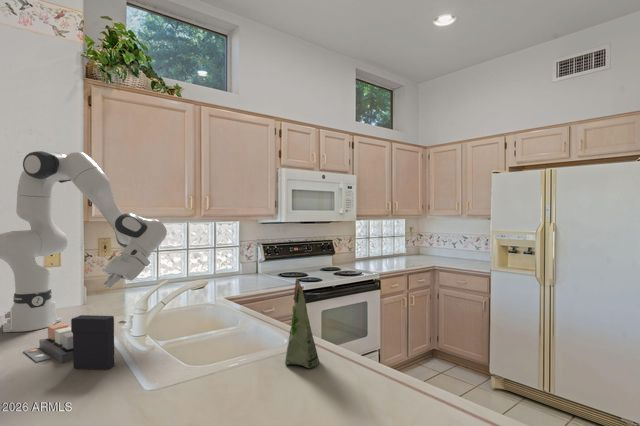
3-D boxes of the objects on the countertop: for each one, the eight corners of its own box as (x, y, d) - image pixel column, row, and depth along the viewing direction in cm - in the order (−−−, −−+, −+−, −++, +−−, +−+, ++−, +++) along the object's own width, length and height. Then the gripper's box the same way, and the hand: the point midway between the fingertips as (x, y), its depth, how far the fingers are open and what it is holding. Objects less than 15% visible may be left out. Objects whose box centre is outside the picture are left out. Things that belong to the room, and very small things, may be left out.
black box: (116, 364, 110) (115, 315, 110) (106, 371, 105) (106, 319, 105) (82, 363, 111) (81, 314, 111) (71, 369, 106) (70, 318, 106)
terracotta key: (47, 337, 125) (47, 326, 125) (63, 333, 129) (63, 322, 129) (52, 340, 122) (52, 328, 122) (68, 336, 126) (68, 325, 126)
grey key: (62, 346, 116) (62, 334, 116) (78, 342, 120) (78, 330, 120) (67, 349, 114) (67, 337, 114) (84, 345, 117) (84, 333, 117)
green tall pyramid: (302, 374, 102) (301, 285, 102) (273, 363, 110) (272, 280, 109) (327, 362, 110) (326, 279, 110) (298, 352, 118) (298, 275, 118)
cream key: (54, 341, 121) (54, 330, 121) (70, 337, 124) (70, 326, 124) (59, 344, 118) (59, 332, 118) (76, 340, 122) (75, 329, 122)
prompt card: (23, 352, 120) (23, 350, 120) (36, 348, 123) (36, 346, 123) (36, 362, 112) (36, 360, 112) (50, 358, 115) (50, 356, 115)
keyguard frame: (39, 347, 124) (39, 340, 124) (68, 340, 131) (68, 333, 131) (61, 363, 111) (61, 354, 111) (93, 354, 118) (93, 346, 118)
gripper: (115, 249, 144) (88, 277, 136) (140, 252, 131) (112, 284, 123) (127, 259, 147) (101, 287, 139) (153, 263, 134) (125, 294, 127)
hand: (106, 286), depth 131 cm, fingers closed
